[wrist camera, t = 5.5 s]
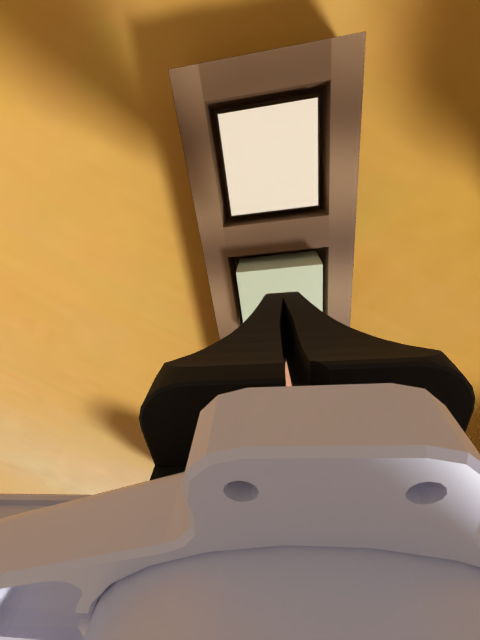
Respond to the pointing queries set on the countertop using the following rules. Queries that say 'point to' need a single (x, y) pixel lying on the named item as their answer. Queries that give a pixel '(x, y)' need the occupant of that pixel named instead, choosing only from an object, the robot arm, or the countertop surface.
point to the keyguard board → (333, 164)
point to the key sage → (279, 278)
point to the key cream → (271, 156)
